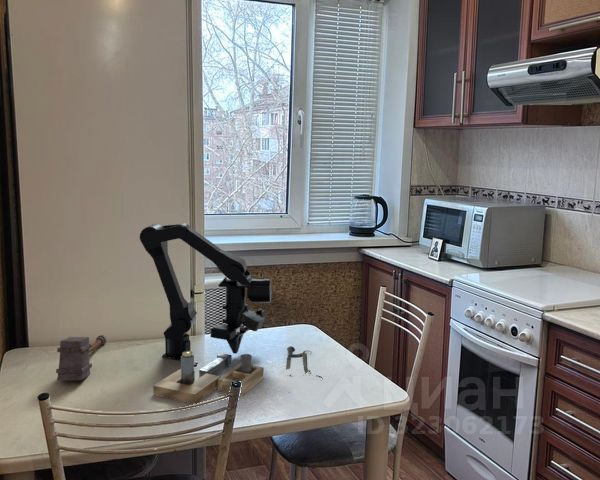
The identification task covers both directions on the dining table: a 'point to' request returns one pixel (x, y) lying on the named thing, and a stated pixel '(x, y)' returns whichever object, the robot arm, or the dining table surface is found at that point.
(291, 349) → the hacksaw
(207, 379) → the socket block
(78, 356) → the hammer
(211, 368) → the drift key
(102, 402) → the dining table surface
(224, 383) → the rack
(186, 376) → the grey metal cylinder
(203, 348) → the dining table surface
